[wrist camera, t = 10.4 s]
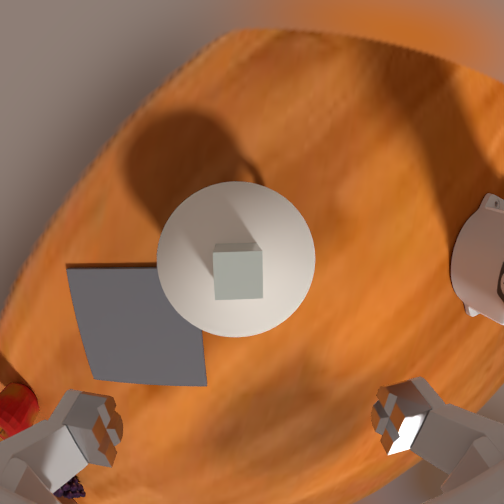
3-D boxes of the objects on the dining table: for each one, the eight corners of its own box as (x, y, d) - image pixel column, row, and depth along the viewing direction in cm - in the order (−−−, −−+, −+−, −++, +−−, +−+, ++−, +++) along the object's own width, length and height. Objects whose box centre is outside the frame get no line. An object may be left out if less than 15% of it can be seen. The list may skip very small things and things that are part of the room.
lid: (311, 182, 23) (332, 177, 18) (309, 327, 25) (327, 354, 20) (156, 186, 22) (137, 181, 17) (167, 333, 24) (154, 362, 19)
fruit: (79, 475, 46) (24, 450, 39) (96, 473, 43) (34, 445, 36) (76, 510, 38) (17, 486, 31) (93, 512, 35) (26, 487, 28)
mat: (197, 266, 32) (196, 267, 31) (207, 383, 36) (206, 386, 36) (68, 267, 31) (66, 269, 30) (95, 376, 35) (94, 379, 34)
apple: (2, 380, 35) (-30, 419, 23) (21, 369, 34) (-15, 412, 23) (32, 416, 37) (7, 457, 26) (54, 408, 37) (27, 455, 25)
